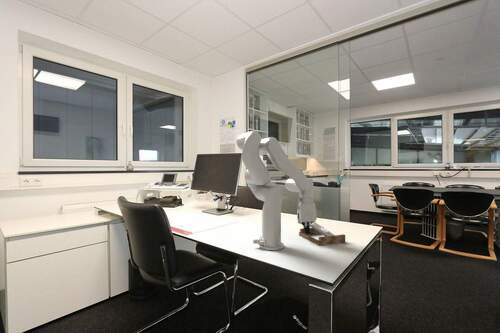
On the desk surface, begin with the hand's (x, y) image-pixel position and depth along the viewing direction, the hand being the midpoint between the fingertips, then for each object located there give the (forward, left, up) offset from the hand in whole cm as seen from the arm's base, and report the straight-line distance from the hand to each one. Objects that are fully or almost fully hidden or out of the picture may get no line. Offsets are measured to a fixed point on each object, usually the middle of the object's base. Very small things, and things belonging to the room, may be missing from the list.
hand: (306, 233), depth 127 cm
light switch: (+11, 0, -4) cm, 12 cm away
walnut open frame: (+10, 0, -4) cm, 10 cm away
